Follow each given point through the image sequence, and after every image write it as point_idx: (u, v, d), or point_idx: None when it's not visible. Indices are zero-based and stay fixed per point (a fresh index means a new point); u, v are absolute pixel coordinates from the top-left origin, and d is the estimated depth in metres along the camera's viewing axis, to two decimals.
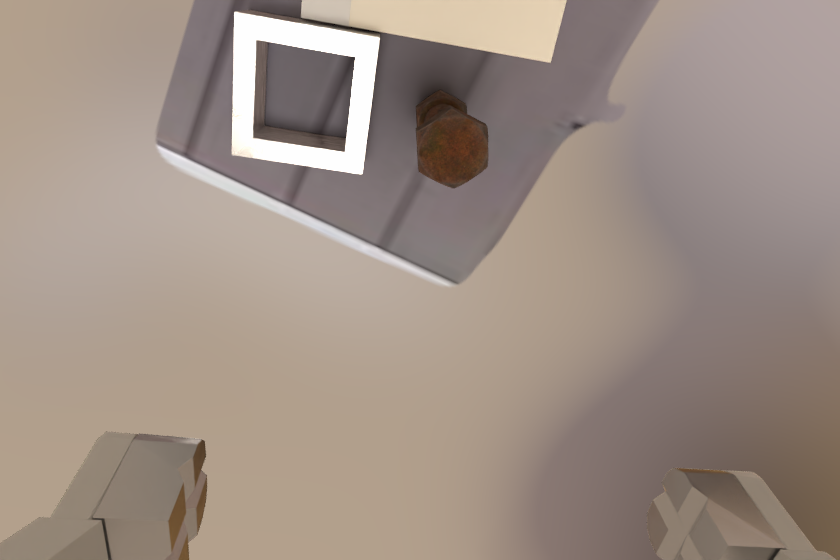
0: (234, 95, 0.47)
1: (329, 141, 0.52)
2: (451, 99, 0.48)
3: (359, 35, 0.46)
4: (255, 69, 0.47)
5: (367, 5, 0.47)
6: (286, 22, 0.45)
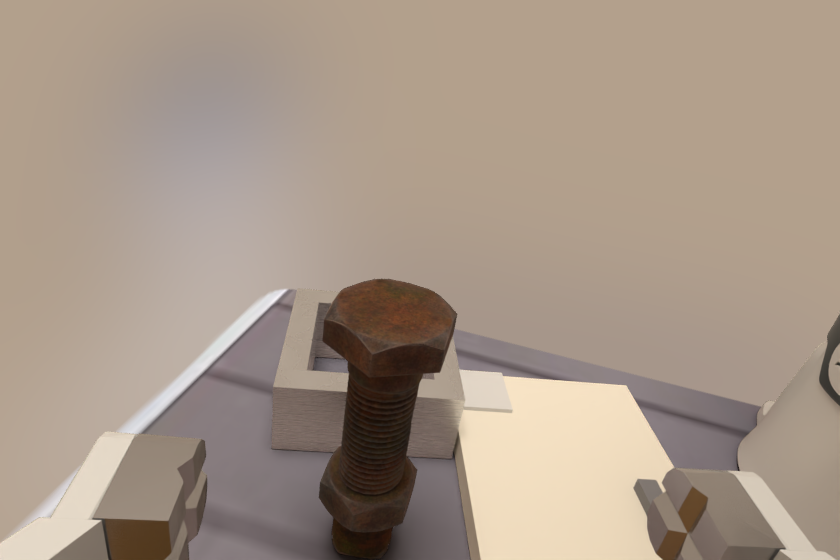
0: None
1: None
2: (411, 479, 0.28)
3: (460, 382, 0.36)
4: None
5: (484, 425, 0.37)
6: None
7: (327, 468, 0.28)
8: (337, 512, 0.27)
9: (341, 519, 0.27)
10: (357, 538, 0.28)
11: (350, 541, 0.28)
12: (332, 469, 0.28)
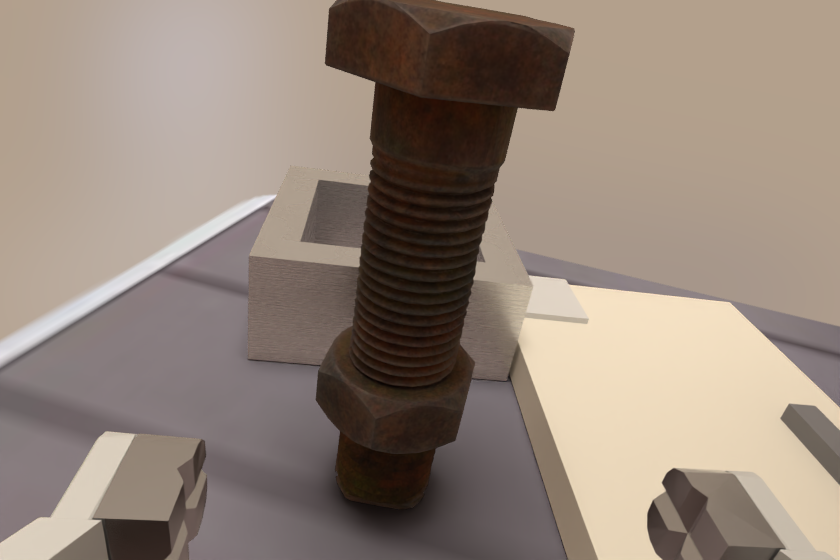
0: None
1: None
2: (469, 371, 0.17)
3: (522, 268, 0.25)
4: None
5: (552, 336, 0.26)
6: (498, 216, 0.30)
7: (330, 350, 0.17)
8: (346, 419, 0.16)
9: (353, 431, 0.16)
10: (378, 469, 0.17)
11: (366, 475, 0.17)
12: (338, 352, 0.17)
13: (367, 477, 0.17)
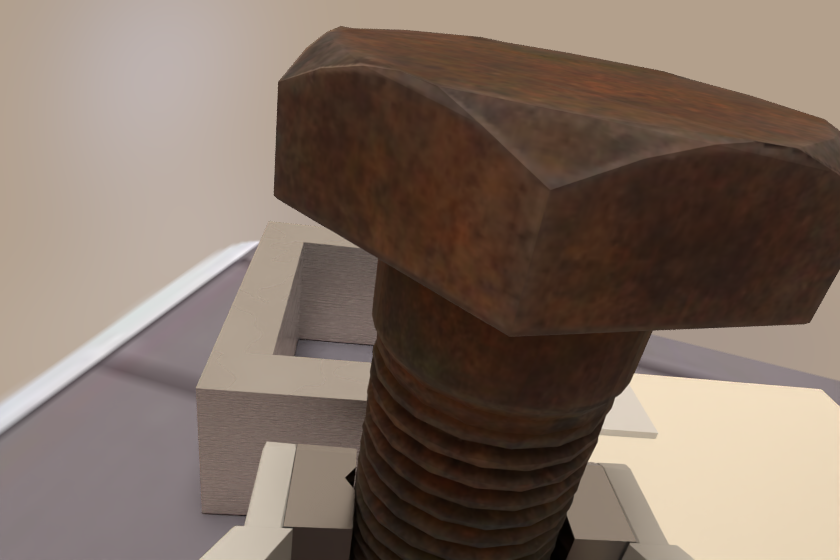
0: None
1: None
2: None
3: None
4: None
5: None
6: None
7: None
8: None
9: None
10: None
11: None
12: None
13: None
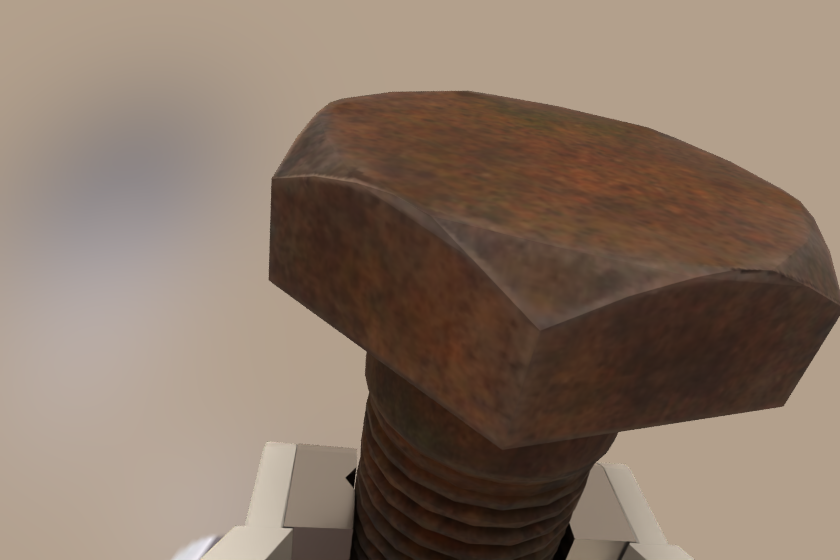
0: None
1: None
2: None
3: None
4: None
5: None
6: None
7: None
8: None
9: None
10: None
11: None
12: None
13: None
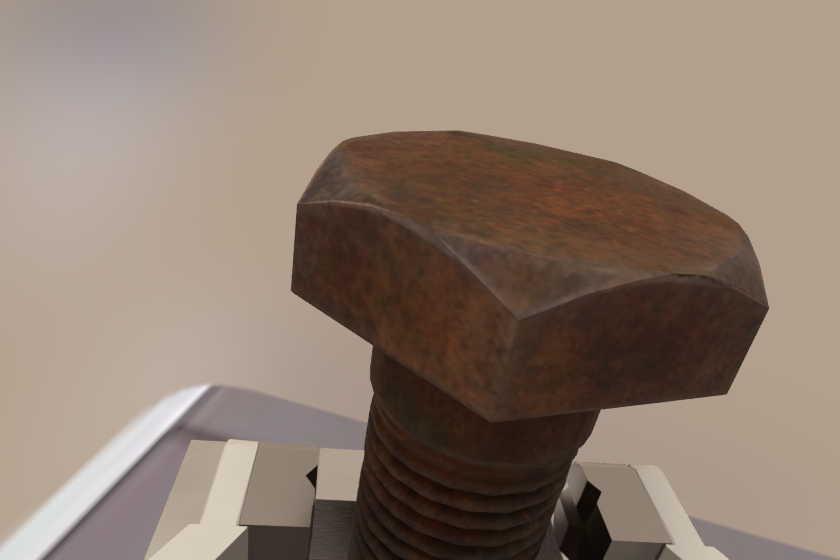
0: None
1: None
2: None
3: None
4: None
5: None
6: None
7: None
8: None
9: None
10: None
11: None
12: None
13: None
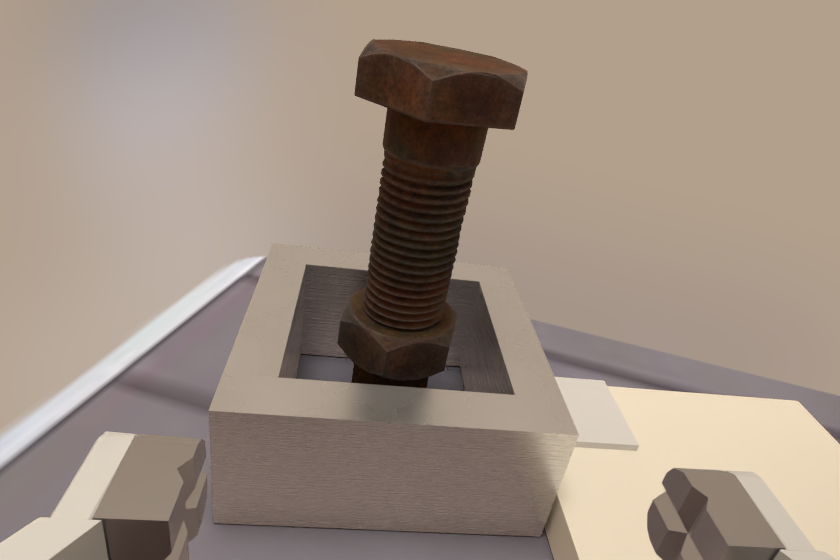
0: None
1: None
2: (453, 319, 0.22)
3: (562, 401, 0.20)
4: None
5: (597, 475, 0.21)
6: (524, 310, 0.25)
7: (348, 305, 0.22)
8: (363, 355, 0.21)
9: (368, 363, 0.21)
10: None
11: None
12: (354, 306, 0.22)
13: None
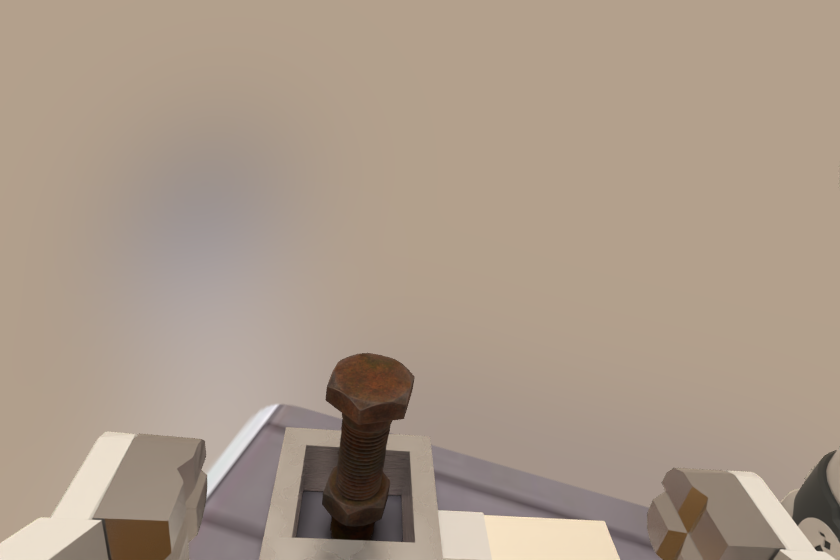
0: None
1: None
2: (386, 488, 0.40)
3: (440, 545, 0.37)
4: None
5: None
6: (432, 475, 0.42)
7: (327, 483, 0.40)
8: (336, 513, 0.39)
9: (339, 518, 0.39)
10: (349, 531, 0.40)
11: (345, 533, 0.40)
12: (331, 483, 0.40)
13: (345, 534, 0.41)
